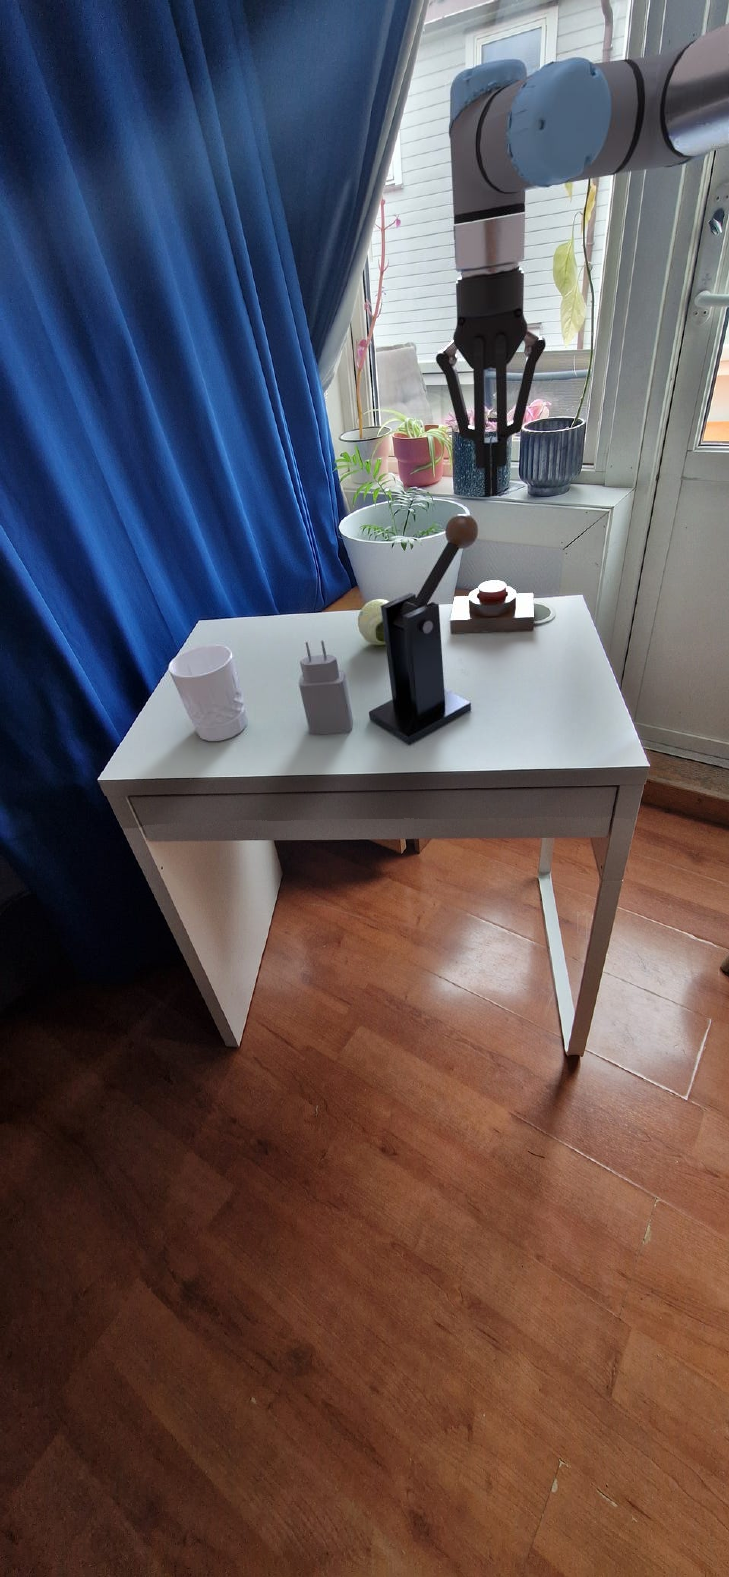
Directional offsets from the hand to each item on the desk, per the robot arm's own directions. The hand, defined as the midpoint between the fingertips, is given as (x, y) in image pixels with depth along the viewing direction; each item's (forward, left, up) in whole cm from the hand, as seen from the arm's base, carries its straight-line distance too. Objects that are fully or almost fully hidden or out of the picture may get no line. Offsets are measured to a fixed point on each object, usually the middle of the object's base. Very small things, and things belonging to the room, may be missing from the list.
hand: (491, 493), depth 87 cm
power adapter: (+19, +28, -19) cm, 39 cm away
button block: (0, 0, -18) cm, 18 cm away
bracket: (+8, +26, -18) cm, 32 cm away
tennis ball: (+16, +6, -19) cm, 25 cm away
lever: (+4, +22, -3) cm, 22 cm away
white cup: (+34, +28, -19) cm, 48 cm away
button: (0, 0, -15) cm, 15 cm away
